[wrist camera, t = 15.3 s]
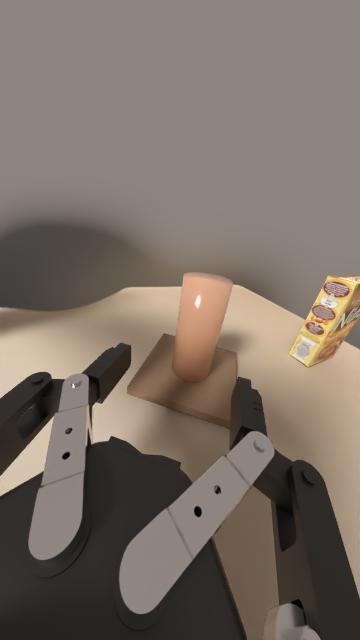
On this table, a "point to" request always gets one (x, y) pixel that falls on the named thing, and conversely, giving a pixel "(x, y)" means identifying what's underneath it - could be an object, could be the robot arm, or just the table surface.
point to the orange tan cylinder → (199, 324)
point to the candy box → (328, 320)
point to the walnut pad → (187, 384)
